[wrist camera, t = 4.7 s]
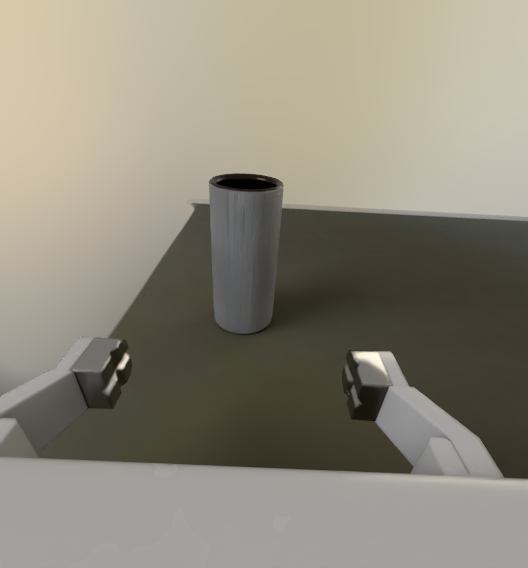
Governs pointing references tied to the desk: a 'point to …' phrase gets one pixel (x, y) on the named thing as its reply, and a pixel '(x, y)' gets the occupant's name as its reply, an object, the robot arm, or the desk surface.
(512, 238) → the desk surface
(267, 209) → the tall grey cup
